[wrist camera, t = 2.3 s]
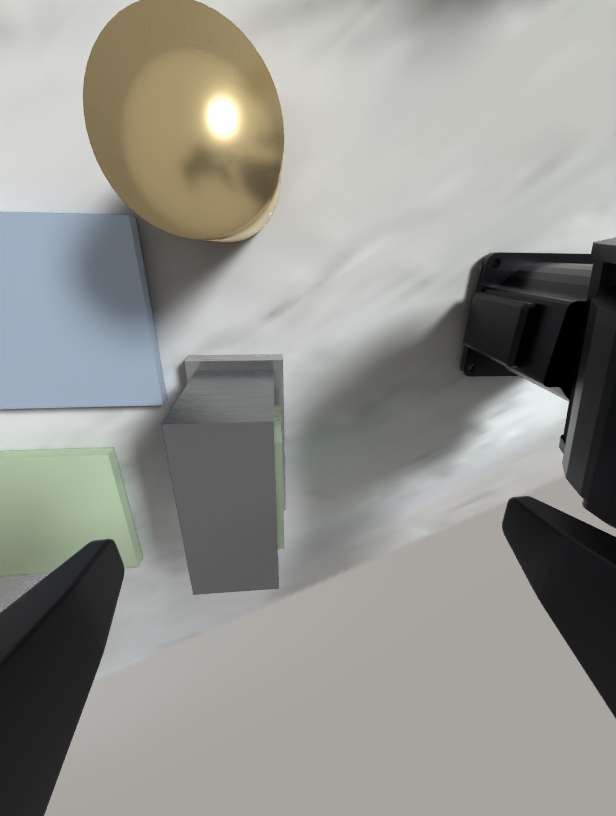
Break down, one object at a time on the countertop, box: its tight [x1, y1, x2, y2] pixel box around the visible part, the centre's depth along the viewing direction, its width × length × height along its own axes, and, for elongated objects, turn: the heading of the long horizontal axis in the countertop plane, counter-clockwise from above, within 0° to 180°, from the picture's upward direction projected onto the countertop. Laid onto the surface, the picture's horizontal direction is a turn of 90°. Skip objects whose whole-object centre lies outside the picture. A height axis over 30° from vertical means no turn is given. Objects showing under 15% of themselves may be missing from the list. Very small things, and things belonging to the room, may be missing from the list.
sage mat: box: [0, 447, 143, 576], centre depth 21 cm, size 9×9×1 cm
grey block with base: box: [162, 355, 285, 595], centre depth 18 cm, size 5×10×7 cm, turn 179°
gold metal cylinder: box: [83, 0, 284, 242], centre depth 12 cm, size 5×5×7 cm
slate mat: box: [0, 212, 167, 409], centre depth 17 cm, size 9×9×1 cm
